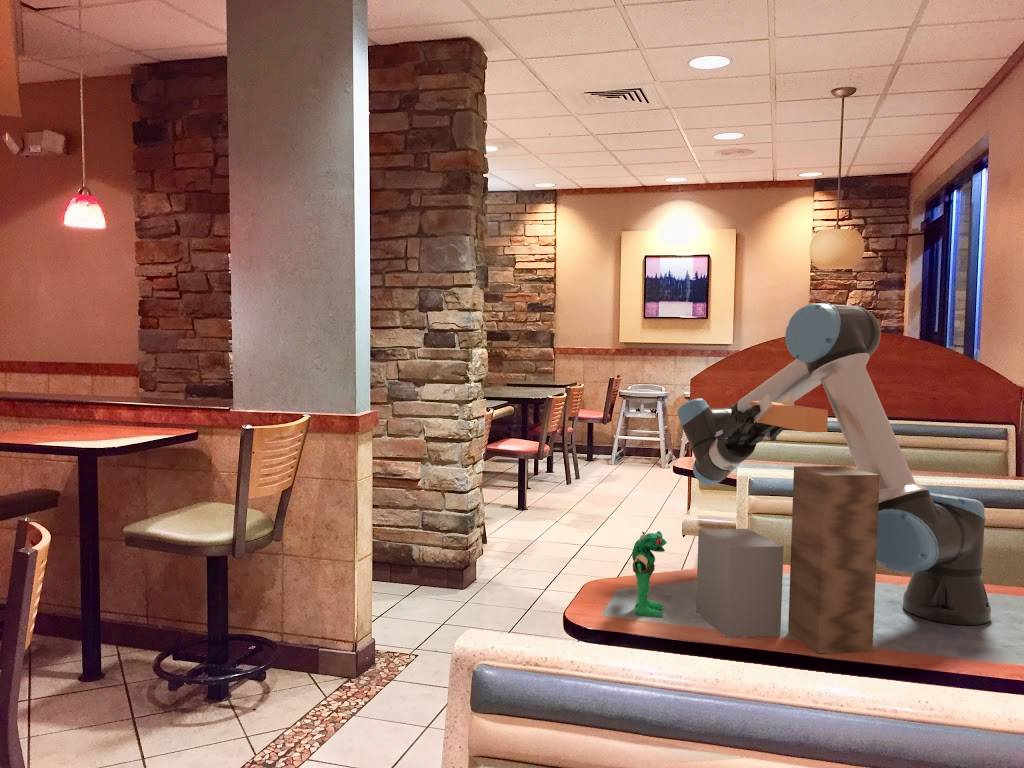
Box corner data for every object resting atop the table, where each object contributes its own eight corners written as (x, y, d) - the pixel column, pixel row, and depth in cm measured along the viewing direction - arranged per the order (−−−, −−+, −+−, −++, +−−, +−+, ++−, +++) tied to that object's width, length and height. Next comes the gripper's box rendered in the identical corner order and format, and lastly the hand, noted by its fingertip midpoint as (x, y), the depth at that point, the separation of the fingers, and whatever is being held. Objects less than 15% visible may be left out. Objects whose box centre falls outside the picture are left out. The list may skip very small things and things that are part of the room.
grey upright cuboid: (744, 610, 159) (747, 528, 159) (780, 635, 146) (783, 546, 145) (696, 612, 158) (698, 529, 157) (727, 637, 144) (730, 547, 143)
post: (839, 630, 149) (845, 466, 147) (872, 651, 139) (879, 474, 137) (788, 633, 147) (793, 466, 145) (818, 653, 137) (824, 475, 136)
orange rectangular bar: (767, 420, 169) (768, 401, 169) (827, 432, 148) (828, 409, 147) (749, 420, 169) (750, 401, 168) (806, 432, 147) (807, 409, 147)
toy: (663, 635, 145) (665, 550, 144) (626, 631, 146) (628, 548, 145) (665, 592, 170) (667, 520, 169) (634, 590, 171) (636, 518, 171)
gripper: (772, 463, 180) (825, 418, 160) (699, 463, 177) (743, 418, 157) (764, 431, 184) (816, 384, 163) (693, 431, 181) (736, 383, 160)
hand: (780, 400), depth 160 cm, fingers closed on orange rectangular bar, 4 cm apart
